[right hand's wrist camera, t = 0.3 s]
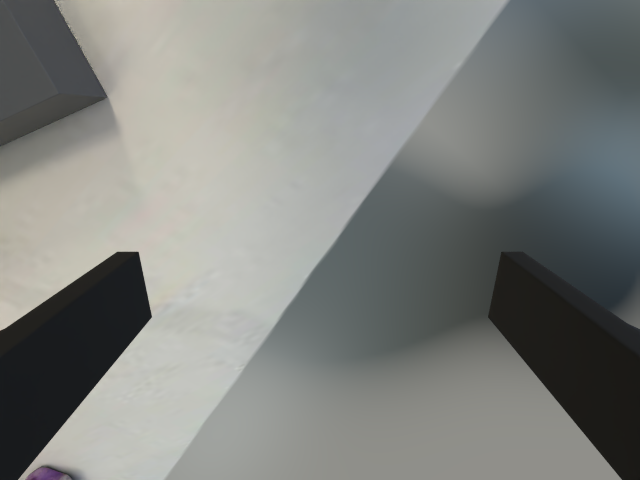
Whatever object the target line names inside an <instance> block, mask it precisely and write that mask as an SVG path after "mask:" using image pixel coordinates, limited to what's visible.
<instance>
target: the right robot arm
mask: <svg viewBox="0 0 640 480" xmlns="http://www.w3.org/2000/svg"><path fill="white" fill-rule="evenodd" d="M151 318H152V315H151V310H150V305H149V301H148V296H147V291H146V286H145V281H144V276H143V271H142V266H141V262H140V257H139V252H116V253H115V254H113V255H112V256H111V257H109V258H108V259H106V260H105V261H103V262H102V263H100V264H99V265H97V266H96V267H94V268H93V269H92V270H90V271H89V272H87V273H86V274H84V275H83V276H81V277H80V278H78V279H77V280H75V281H74V282H73V283H71V284H70V285H68V286H67V287H65V288H64V289H62V290H61V291H59V292H58V293H57V294H55V295H54V296H52V297H51V298H49V299H48V300H46V301H45V302H43V303H42V304H40V305H39V306H38V307H36V308H35V309H33V310H32V311H30V312H29V313H27V314H26V315H24V316H23V317H21V318H20V319H19V320H17V321H16V322H14V323H13V324H11V325H10V326H8V327H7V328H5V329H3V330H1V331H0V480H18V479H19V478H20V477H21V475H22V474H23V473H24V472H25V470H26V469H27V468H28V467H29V466H30V464H31V463H32V462H33V461H34V460H35V458H36V457H37V456H38V455H39V453H40V452H41V451H42V450H43V449H44V447H45V446H46V445H47V444H48V443H49V441H50V440H51V439H52V438H53V436H54V435H55V434H56V433H57V432H58V430H59V429H60V428H61V427H62V426H63V424H64V423H65V422H66V421H67V419H68V418H69V417H70V416H71V415H72V413H73V412H74V411H75V410H76V409H77V407H78V406H79V405H80V404H81V402H82V401H83V400H84V399H85V398H86V396H87V395H88V394H89V393H90V392H91V390H92V389H93V388H94V387H95V385H96V384H97V383H98V382H99V381H100V379H101V378H102V377H103V376H104V375H105V373H106V372H107V371H108V370H109V369H110V367H111V366H112V365H113V364H114V362H115V361H116V360H117V359H118V358H119V356H120V355H121V354H122V353H123V352H124V350H125V349H126V348H127V347H128V345H129V344H130V343H131V342H132V341H133V339H134V338H135V337H136V336H137V335H138V333H139V332H140V331H141V330H142V328H143V327H144V326H145V325H146V324H147V322H148V321H149V320H150V319H151ZM488 318H489V319H490V320H491V321H492V322H493V324H494V325H495V326H496V327H497V328H498V330H499V331H500V332H501V333H502V335H503V336H504V337H505V338H506V339H507V341H508V342H509V343H510V344H511V345H512V347H513V348H514V349H515V350H516V352H517V353H518V354H519V355H520V356H521V358H522V359H523V360H524V361H525V362H526V364H527V365H528V366H529V367H530V369H531V370H532V371H533V372H534V373H535V375H536V376H537V377H538V378H539V379H540V381H541V382H542V383H543V384H544V385H545V387H546V388H547V389H548V390H549V392H550V393H551V394H552V395H553V396H554V398H555V399H556V400H557V401H558V402H559V404H560V405H561V406H562V407H563V409H564V410H565V411H566V412H567V413H568V415H569V416H570V417H571V418H572V419H573V421H574V422H575V423H576V424H577V426H578V427H579V428H580V429H581V430H582V432H583V433H584V434H585V435H586V436H587V438H588V439H589V440H590V441H591V443H592V444H593V445H594V446H595V447H596V449H597V450H598V451H599V452H600V453H601V455H602V456H603V457H604V458H605V460H606V461H607V462H608V463H609V464H610V466H611V467H612V468H613V469H614V470H615V472H616V473H617V474H618V475H619V477H620V478H621V479H622V480H640V329H638V328H636V327H634V326H631V325H629V324H627V323H626V322H624V321H623V320H621V319H620V318H619V317H617V316H616V315H614V314H613V313H611V312H610V311H608V310H607V309H605V308H604V307H602V306H601V305H599V304H598V303H596V302H595V301H594V300H592V299H591V298H589V297H588V296H586V295H585V294H583V293H582V292H581V291H579V290H578V289H576V288H575V287H573V286H572V285H570V284H569V283H567V282H566V281H565V280H563V279H562V278H560V277H559V276H557V275H556V274H554V273H553V272H551V271H550V270H548V269H547V268H545V267H544V266H543V265H541V264H540V263H538V262H537V261H535V260H534V259H532V258H531V257H529V256H528V255H527V254H525V253H524V252H501V257H500V262H499V267H498V271H497V276H496V281H495V286H494V291H493V296H492V301H491V306H490V311H489V315H488Z"/></svg>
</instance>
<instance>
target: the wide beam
mask: <svg viewBox="0 0 640 480" xmlns="http://www.w3.org/2000/svg"><path fill="white" fill-rule="evenodd" d="M105 98H107V95H106V94H105V92H104V90H103V88H102V87H101V85H100V83H99V81H98V79H97V78H96V76H95V74H94V72H93V70H92V69H91V67H90V65H89V63H88V61H87V60H86V58H85V56H84V54H83V52H82V51H81V49H80V47H79V45H78V43H77V42H76V40H75V38H74V36H73V34H72V33H71V31H70V29H69V27H68V26H67V24H66V22H65V20H64V18H63V17H62V15H61V13H60V11H59V9H58V8H57V6H56V4H55V2H54V0H0V146H2V145H4V144H6V143H8V142H10V141H13V140H15V139H17V138H19V137H21V136H24V135H26V134H28V133H30V132H32V131H35V130H37V129H39V128H41V127H43V126H46V125H48V124H50V123H52V122H54V121H57V120H59V119H61V118H63V117H65V116H68V115H70V114H72V113H74V112H76V111H79V110H81V109H83V108H85V107H87V106H90V105H92V104H94V103H96V102H98V101H101V100H103V99H105Z"/></svg>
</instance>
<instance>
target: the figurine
mask: <svg viewBox="0 0 640 480" xmlns="http://www.w3.org/2000/svg"><path fill="white" fill-rule="evenodd" d="M26 480H72V479H71V477H70V476H68V475H66V474H63V473H60V472H57V471H55V470H53V469H50V468H47V467H40V468H38V469H37V470H35V471H34V472H32V473H31V474H30V475H29V476H28V477H27V478H26Z"/></svg>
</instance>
